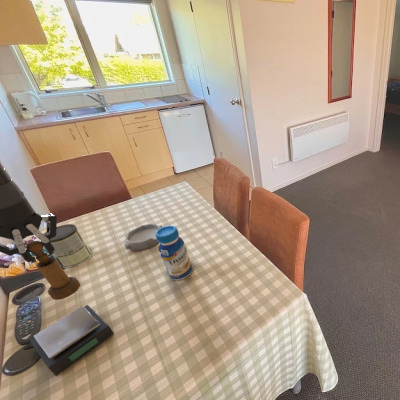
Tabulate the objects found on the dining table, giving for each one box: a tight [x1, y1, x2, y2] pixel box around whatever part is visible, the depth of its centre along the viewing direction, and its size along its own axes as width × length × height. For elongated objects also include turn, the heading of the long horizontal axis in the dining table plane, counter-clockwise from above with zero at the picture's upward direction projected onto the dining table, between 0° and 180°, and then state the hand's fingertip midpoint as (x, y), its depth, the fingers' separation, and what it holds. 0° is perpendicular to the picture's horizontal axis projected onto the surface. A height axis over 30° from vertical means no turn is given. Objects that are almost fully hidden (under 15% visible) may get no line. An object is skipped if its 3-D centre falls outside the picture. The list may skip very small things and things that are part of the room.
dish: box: [124, 223, 163, 252], centre depth 117 cm, size 14×14×5 cm
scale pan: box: [33, 305, 101, 359], centre depth 76 cm, size 12×12×1 cm
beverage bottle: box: [155, 225, 194, 281], centre depth 97 cm, size 8×8×20 cm
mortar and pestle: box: [25, 240, 81, 301], centre depth 72 cm, size 7×6×18 cm
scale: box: [29, 304, 115, 377], centre depth 77 cm, size 14×14×5 cm
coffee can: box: [42, 223, 93, 269], centre depth 105 cm, size 10×10×14 cm
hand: (41, 256), depth 70 cm, fingers closed on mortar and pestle, 3 cm apart
